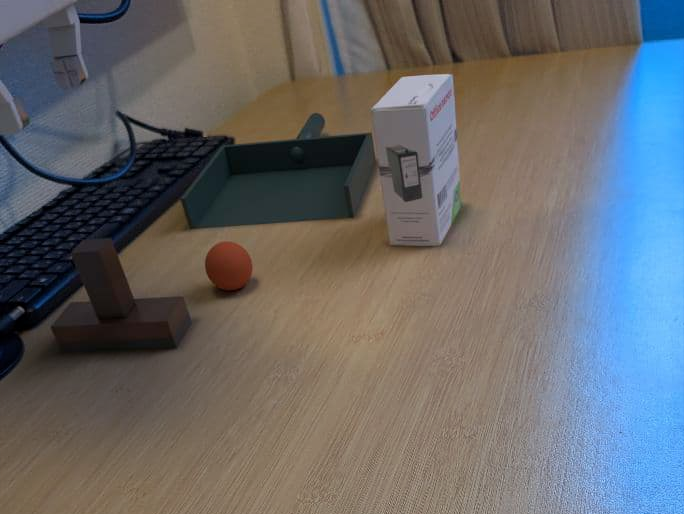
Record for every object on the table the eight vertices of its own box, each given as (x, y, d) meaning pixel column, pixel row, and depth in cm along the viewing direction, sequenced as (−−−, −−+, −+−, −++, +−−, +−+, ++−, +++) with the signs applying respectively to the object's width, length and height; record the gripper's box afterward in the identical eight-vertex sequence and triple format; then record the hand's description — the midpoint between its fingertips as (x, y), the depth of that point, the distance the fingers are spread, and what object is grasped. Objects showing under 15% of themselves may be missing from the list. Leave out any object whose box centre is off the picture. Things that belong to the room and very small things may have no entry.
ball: (206, 300, 71) (193, 255, 68) (219, 278, 74) (207, 234, 71) (250, 297, 70) (238, 253, 68) (262, 275, 73) (251, 231, 70)
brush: (62, 354, 67) (19, 261, 62) (82, 328, 70) (42, 238, 64) (177, 349, 65) (143, 253, 60) (192, 323, 68) (161, 229, 63)
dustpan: (353, 218, 80) (348, 185, 78) (189, 229, 83) (180, 198, 81) (389, 128, 98) (386, 99, 96) (253, 140, 101) (247, 112, 98)
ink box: (414, 207, 80) (399, 73, 72) (464, 207, 78) (454, 70, 70) (387, 246, 74) (368, 106, 66) (440, 247, 73) (426, 104, 65)
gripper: (-19, -170, 54) (67, 66, 63) (-228, -132, 39) (-75, 166, 49) (69, -185, 52) (144, 57, 62) (-112, -152, 38) (21, 157, 47)
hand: (46, 106), depth 55 cm, fingers open, 8 cm apart
